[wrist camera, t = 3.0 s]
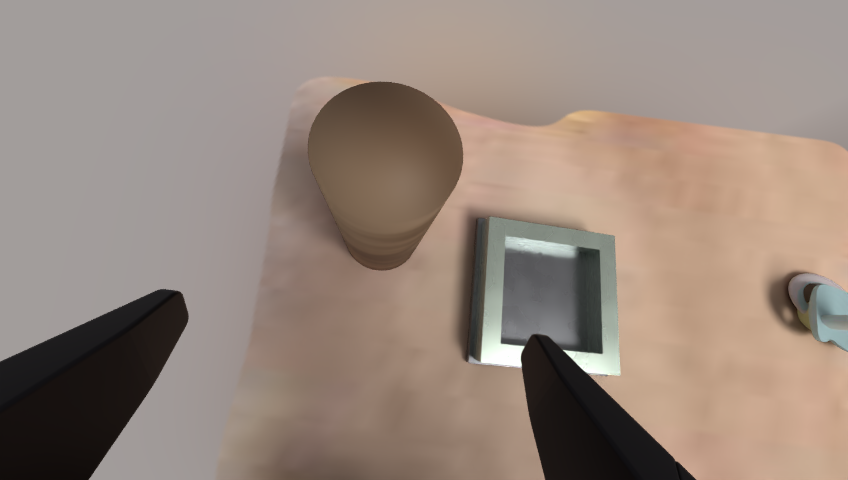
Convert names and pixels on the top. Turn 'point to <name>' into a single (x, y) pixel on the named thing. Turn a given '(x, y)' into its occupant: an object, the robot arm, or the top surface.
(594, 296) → the green square tray
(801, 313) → the pacifier
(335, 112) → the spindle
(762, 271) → the top surface
